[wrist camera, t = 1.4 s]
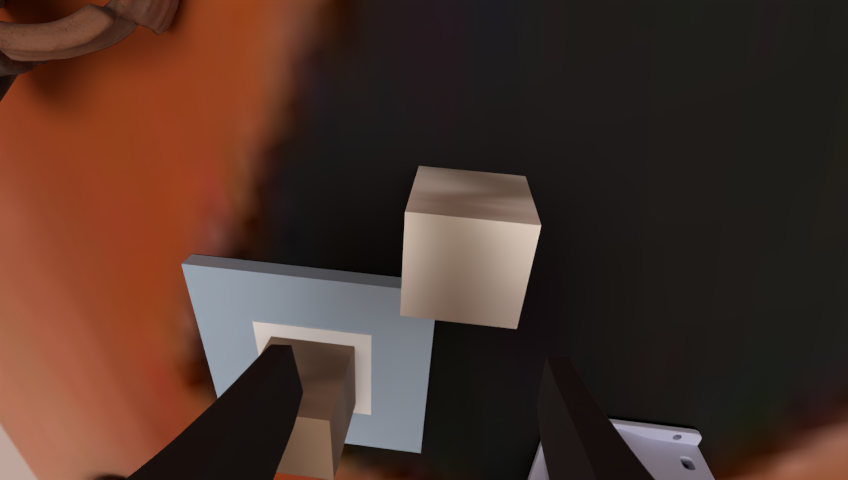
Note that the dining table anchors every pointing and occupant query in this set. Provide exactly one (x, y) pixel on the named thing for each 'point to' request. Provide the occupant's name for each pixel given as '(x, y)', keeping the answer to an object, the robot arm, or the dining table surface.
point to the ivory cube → (468, 247)
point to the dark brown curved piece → (77, 34)
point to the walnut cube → (320, 407)
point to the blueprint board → (319, 335)
